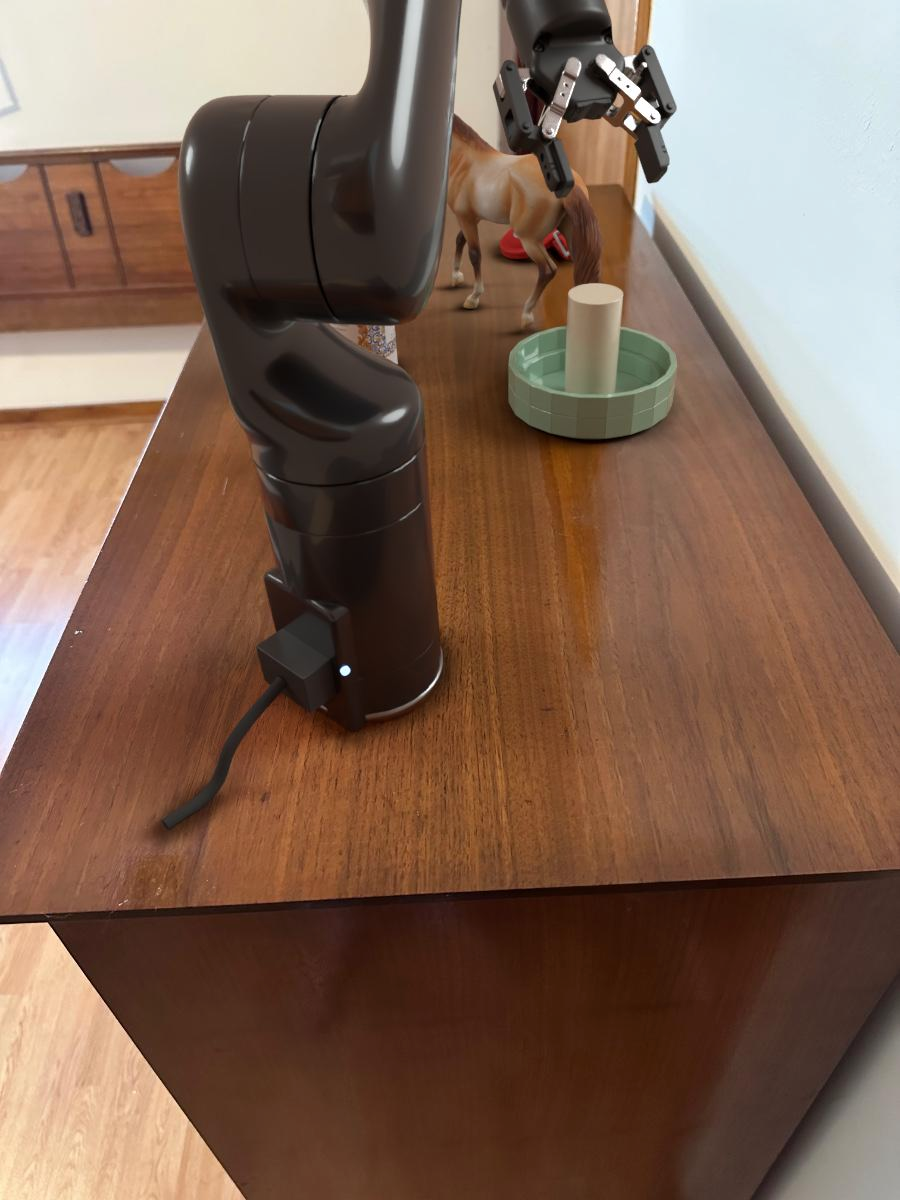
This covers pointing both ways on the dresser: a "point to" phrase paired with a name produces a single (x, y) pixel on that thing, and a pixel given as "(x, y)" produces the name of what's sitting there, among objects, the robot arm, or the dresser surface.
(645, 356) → the bowl
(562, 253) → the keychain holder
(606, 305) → the beige cylinder
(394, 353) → the bath foam
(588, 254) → the horse figurine
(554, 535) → the dresser surface
